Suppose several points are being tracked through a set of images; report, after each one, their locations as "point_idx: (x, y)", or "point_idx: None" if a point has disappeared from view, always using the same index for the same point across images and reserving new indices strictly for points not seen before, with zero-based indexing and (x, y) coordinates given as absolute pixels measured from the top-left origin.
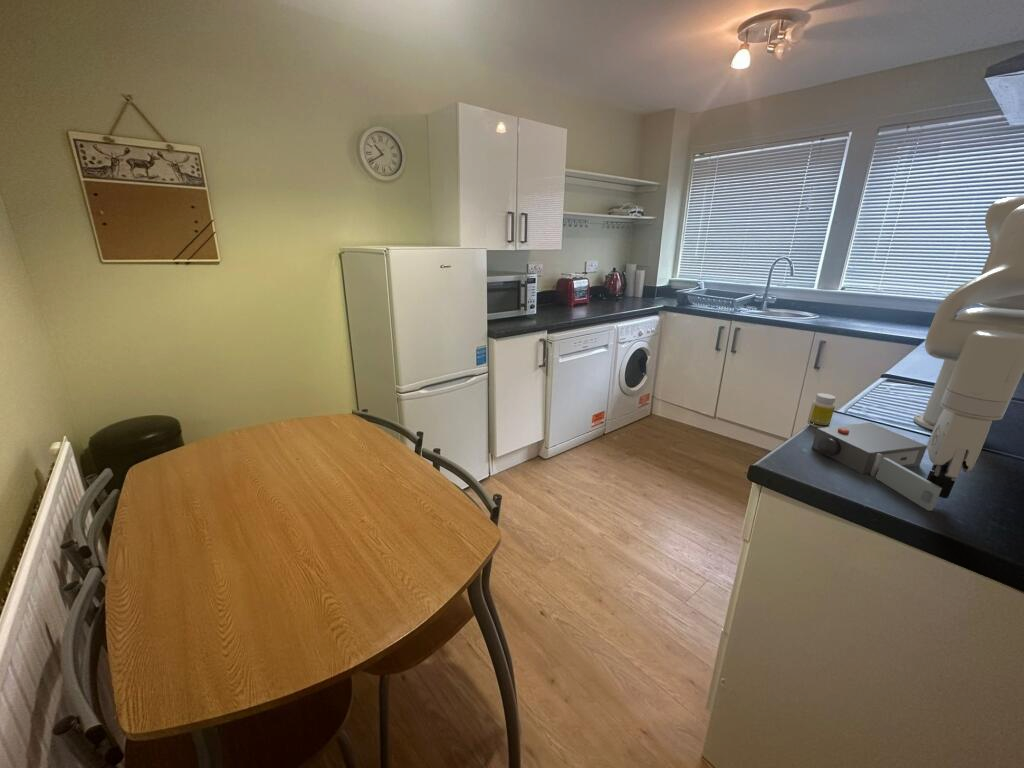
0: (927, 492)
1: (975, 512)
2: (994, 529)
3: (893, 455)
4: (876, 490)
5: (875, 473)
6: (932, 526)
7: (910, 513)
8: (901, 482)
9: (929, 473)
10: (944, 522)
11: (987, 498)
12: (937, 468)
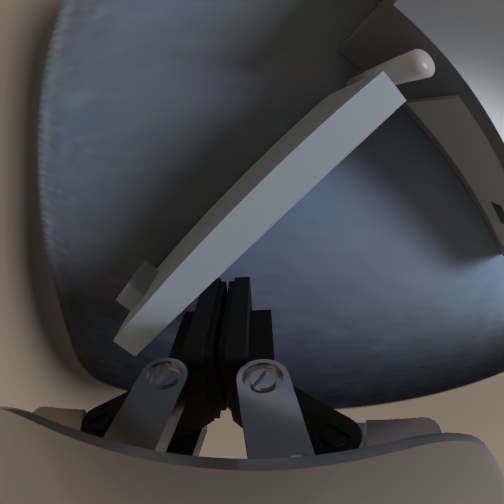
0: (122, 295)
1: None
2: None
3: (494, 170)
4: (190, 103)
5: None
6: (71, 276)
7: (91, 225)
8: (237, 188)
9: (232, 339)
10: (122, 305)
11: (383, 378)
12: (121, 410)
